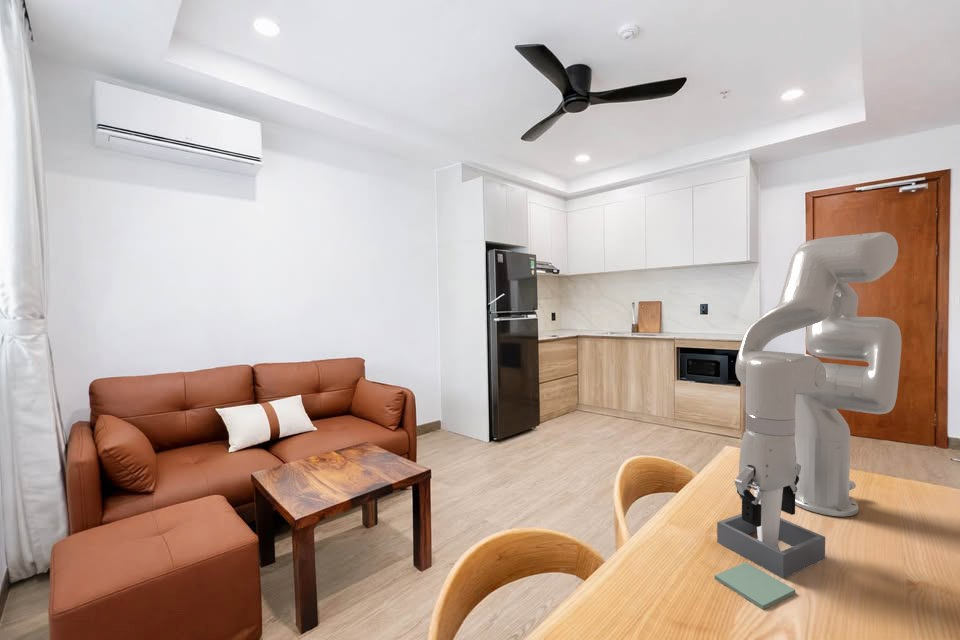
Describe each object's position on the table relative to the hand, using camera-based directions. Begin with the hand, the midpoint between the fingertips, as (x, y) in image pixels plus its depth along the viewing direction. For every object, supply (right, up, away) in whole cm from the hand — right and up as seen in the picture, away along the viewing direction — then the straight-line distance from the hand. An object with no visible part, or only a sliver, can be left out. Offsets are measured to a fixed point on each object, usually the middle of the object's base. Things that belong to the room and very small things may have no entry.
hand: (768, 517), depth 79 cm
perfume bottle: (0, -7, +1) cm, 7 cm away
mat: (-8, -7, -9) cm, 14 cm away
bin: (0, -6, +1) cm, 6 cm away
